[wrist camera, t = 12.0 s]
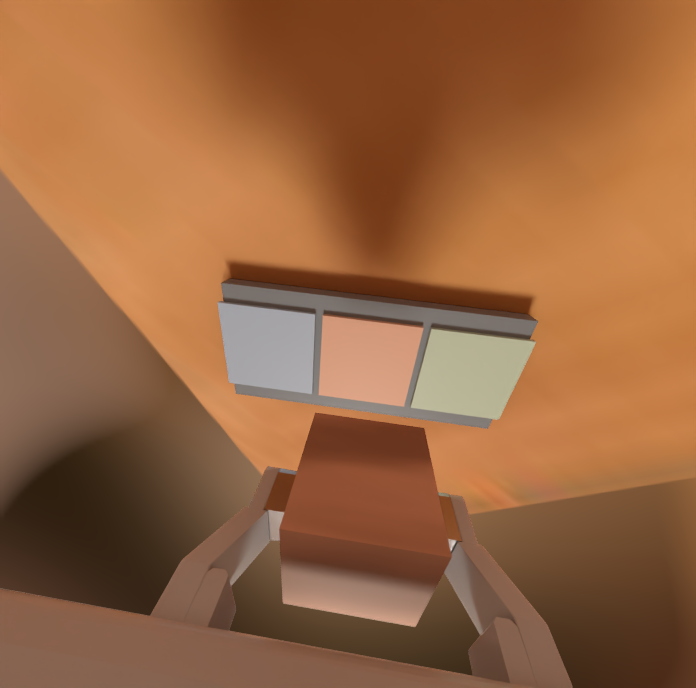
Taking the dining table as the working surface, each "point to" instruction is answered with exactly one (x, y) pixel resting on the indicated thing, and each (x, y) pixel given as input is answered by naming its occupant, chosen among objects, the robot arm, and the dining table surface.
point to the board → (373, 352)
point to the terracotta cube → (363, 522)
